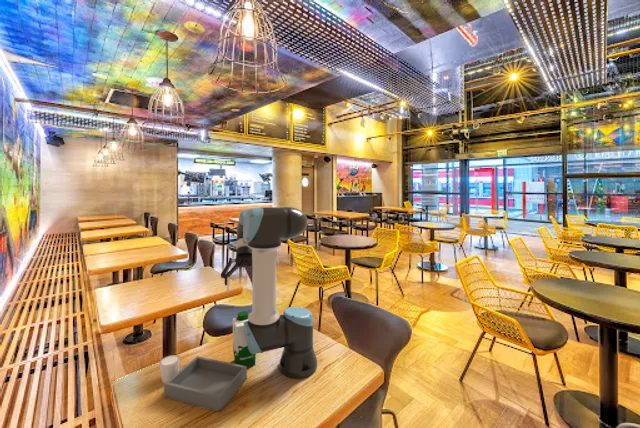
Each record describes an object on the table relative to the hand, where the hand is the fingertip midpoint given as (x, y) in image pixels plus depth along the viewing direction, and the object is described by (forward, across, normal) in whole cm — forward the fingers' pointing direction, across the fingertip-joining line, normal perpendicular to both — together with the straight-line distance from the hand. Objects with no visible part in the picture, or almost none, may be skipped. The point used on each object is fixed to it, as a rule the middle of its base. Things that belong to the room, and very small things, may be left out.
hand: (244, 290), depth 121 cm
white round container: (+29, +27, -9) cm, 40 cm away
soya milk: (+27, 0, -11) cm, 29 cm away
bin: (+35, +12, -2) cm, 37 cm away
